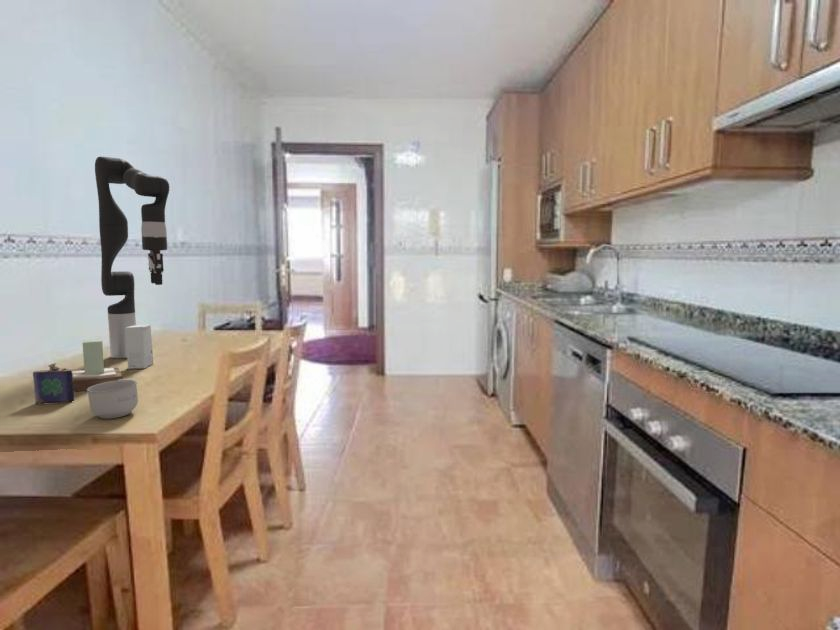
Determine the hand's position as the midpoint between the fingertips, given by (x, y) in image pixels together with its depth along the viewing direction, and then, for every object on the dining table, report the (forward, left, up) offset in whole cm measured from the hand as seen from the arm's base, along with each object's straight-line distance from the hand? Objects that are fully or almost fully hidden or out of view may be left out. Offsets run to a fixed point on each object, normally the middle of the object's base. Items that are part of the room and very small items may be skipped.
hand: (156, 284), depth 175 cm
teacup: (+46, -17, -30) cm, 58 cm away
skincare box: (-11, -5, -30) cm, 33 cm away
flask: (+26, -30, -30) cm, 50 cm away
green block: (+9, -20, -26) cm, 34 cm away
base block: (+9, -20, -30) cm, 37 cm away
